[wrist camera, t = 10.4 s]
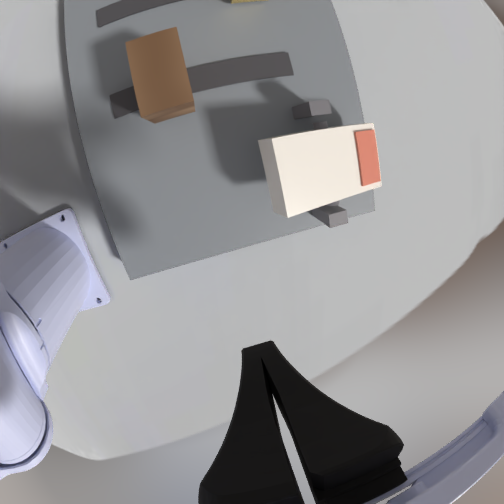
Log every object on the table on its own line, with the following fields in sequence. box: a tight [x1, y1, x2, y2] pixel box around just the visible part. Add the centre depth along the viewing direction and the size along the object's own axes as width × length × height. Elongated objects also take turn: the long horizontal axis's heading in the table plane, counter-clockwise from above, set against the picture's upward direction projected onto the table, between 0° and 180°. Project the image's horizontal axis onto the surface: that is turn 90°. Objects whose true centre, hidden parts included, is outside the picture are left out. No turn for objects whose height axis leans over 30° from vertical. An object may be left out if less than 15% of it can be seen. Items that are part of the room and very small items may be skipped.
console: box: [64, 0, 375, 280], centre depth 13 cm, size 18×24×5 cm
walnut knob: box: [125, 27, 195, 124], centre depth 11 cm, size 2×4×4 cm, turn 13°
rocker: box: [258, 121, 381, 218], centre depth 14 cm, size 7×5×2 cm
